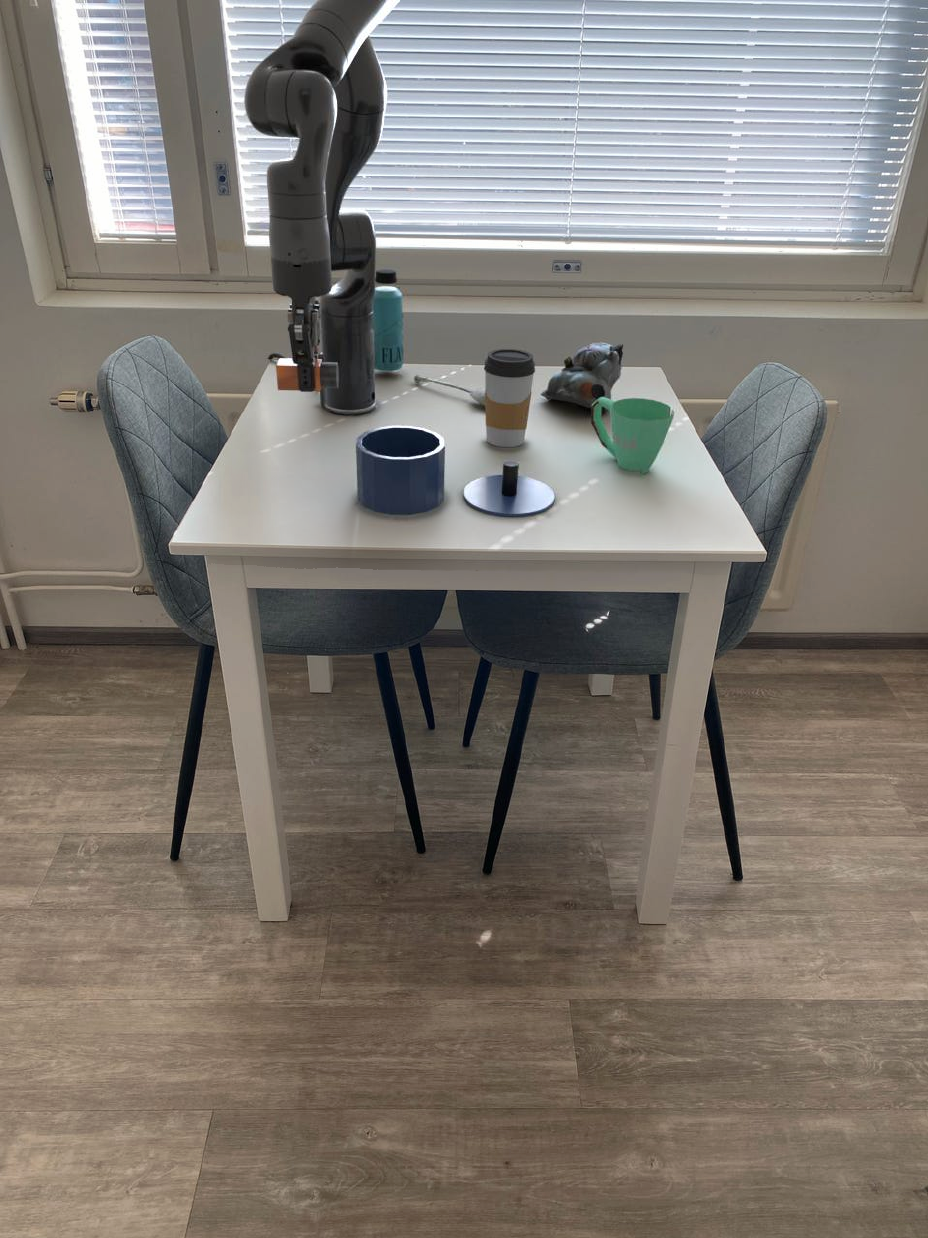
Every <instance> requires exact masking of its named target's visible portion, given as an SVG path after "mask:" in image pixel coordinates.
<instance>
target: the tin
mask: <svg viewBox="0 0 928 1238" xmlns="http://www.w3.org/2000/svg"><path fill="white" fill-rule="evenodd" d="M355 457H356V485H357V486H356V487H357V500H358V504H359V506H361V505H362V506H363V507H364V508H367V509H368V510H370V511H373V512H375V513H381V514H385V515H390V516H411V515H412V516H413V515H417V514H422V513H427V512H429V511H432V510H434V509H437V508H439V506H440V505H441V504H442V503H443V502H444V500H445V472H446V471H445V469H446V468H445V467H446V466H445V465H446V463H445V462H446V442H445V438H444V437H442V435H440V434H439V433H438V432H436V431H433V430H430V429H427V428H424V427H417V426H412V425H387V426H383V427H376V428H373V429H370V430H366V431H364V432H363V433H362V434H360V435H358V437H357V438H356V441H355Z"/></svg>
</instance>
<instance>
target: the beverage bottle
mask: <svg viewBox="0 0 928 1238" xmlns="http://www.w3.org/2000/svg"><path fill="white" fill-rule="evenodd" d="M397 282H398V277H397V271H396V270H395V269H391V268H380V269H376V270H375V283H377V284H382V285H383V286H378V287H375V296H374V301H373V322H374V361H375V370H377V371H381V372H393V371H394V372H395V371H399V370H401V369H402V368H403V365H404V344H403V342H404V334H403V330H404V328H403V326H404V321H403V318H404V315H403V314H404V313H403V312H404V311H403V309H404V306H403V293H402V292H401V291H400V290H399V289H398V288H397V287H394V286H386V285H392V284H396V283H397ZM384 285H385V286H384Z"/></svg>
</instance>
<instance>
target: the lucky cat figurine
mask: <svg viewBox="0 0 928 1238" xmlns="http://www.w3.org/2000/svg"><path fill="white" fill-rule="evenodd" d="M623 349H624V344H623V343H621V344H617V345H616V346H613V345H612V344H610V343H605V342H592V343H591V344H589V345H587V346H584V347H582V348H581V349H579V350H578V351H577V352H576V354H575V355H574V356H573V357H571V356H566V358H565V359H564V360H563V364H564V368H562V369H561V370H560V371H557V372H555V373H554V374H553V375H552V377H550V379H549V380H548V384H547V388H546V389H545V390H543V391H541V393H540V396H542V397H543V398H545V399H546V400H547V401H550V400H556V401H563V402H568V403H572V404H575V405H579V406H581V407H584V408H588V409H591V405H592V404H593V403H594V402H595V401H596V400H598V399H599V398H601V397H605V398H608V399H611V400H612V390H613V387H614V385H615V384H616V383H617V381H618V380H619V379H620V378H621V375H622V366H623V365H622V359H623V355H624V352H623ZM608 411H609V410H608V409H606V408H605V407H602V412H601V415H603V414H606V413H607V412H608Z"/></svg>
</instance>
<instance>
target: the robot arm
mask: <svg viewBox="0 0 928 1238" xmlns="http://www.w3.org/2000/svg"><path fill="white" fill-rule="evenodd" d="M400 1H401V0H316V1H315V2H314V3H313V4H312V5H311V7H309V9H308V11H307V12H306V14H305V15H304V17H303V18H302V20H301V22H300V23H299V25H298V27H297V28H296V30H295V31H294V34H293V35H292V37H290V38H289V39H288V40H287V41H285V42H284V43H282V44H280V45H279V47H277V48H276V49H274V51H272V52H271V53H269V54H268V55H267V56H266V57H265V58H264V59H263V60H262V61H261V62H259V64H258V65H257V66H256V67H255V68H254V69H253V70H252V72H251V73H250V76H249V78H248V80H247V82H246V86H245V90H244V98H243V99H244V101H243V102H244V110H245V114H246V117H247V119H248V121H249V123H250V124H251V125H252V127H253V128H254V129H255V130H256V131H257V132H259V133H260V134H262V135H265V136H269V137H273V138H275V137H276V138H289V139H298V145H297V149H296V151H295V154H294V156H293V157H291V158H285V159H280V160H276V161H273V162H271V163H270V164H269V165H268V167H267V170H266V190H267V200H268V201H267V202H268V213H269V217H268V218H269V219H268V220H269V224H268V241H269V253H270V254H269V255H270V268H271V280H272V289H273V291H274V292H275V293H276V294H277V295H279V296H282V297H288V298H290V299H291V303H290V304H289V308H287V310H286V319H287V323H288V326H287V331H288V335H289V342H290V349H291V356H292V357H291V359H292V361H293V363H294V364H297V373H298V387H299V390H300V391H299V392H300V393H301V392H302V393H314V392H315V391H314V390H315V370H314V362H315V359H322V362H337V363H338V370H339V384H338V388H321V391H319V401H320V403H319V404H320V406H321V407H324V408H325V409H326V410H327V411H329V412H331V413H335V414H339V415H349V416H350V415H361V414H362V415H363V414H367V413H369V412H371V411H374V410H375V409H376V407H377V390H376V369H375V361H374V322H373V301H374V296H375V289H376V282H375V278H376V270H377V269H376V267H377V265H376V264H377V235H376V230H375V229H376V228H375V225H374V222H373V219H372V217H371V216H370V214H369V213H368V212H367V211H366V210H364V209H358V208H351V209H341V208H342V204H343V201H344V198H345V195H346V194H347V191H348V190H349V188H350V186H351V184H352V183H353V182H354V180H355V179H356V178H357V176H358V175H359V174H360V172H361V171H362V170H363V168H364V167H365V166H366V164H367V163H368V161H369V160H370V158H371V157H372V156H373V154H374V153H375V151H376V149H377V147H378V145H379V144H380V141H381V138H382V134H383V129H384V128H383V127H384V121H385V114H386V107H387V100H388V90H387V83H386V80H385V76H384V73H383V69H382V66H381V64H380V61H379V58H378V55H377V53H376V51H375V47H374V45H373V42H372V40H371V35H370V33H372V31H373V30H374V29H375V28H376V27H377V26H378V25H379V24H380V23H381V22H382V21H383V20H384V19H385V18H386V17H387V15H389V13H390V12H391V11H392V10H393V9H394V8H395V6H397V4H399V2H400ZM338 271H339V272H340V271H345V273H344V275H343V277H342V278H341V279H340V280H339V281H338V282H336V283H334V284H333V279H332V272H338ZM316 298H318V299H316ZM320 337H321V339H320ZM320 343H321V352H320V347H319V346H320ZM274 358H276V359H279V358H287V357H286V356H284V355H282V354H280V353H277V352H274V353H270V354H269V355H268V357H267V360H270V361H271V360H273V359H274Z"/></svg>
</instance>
